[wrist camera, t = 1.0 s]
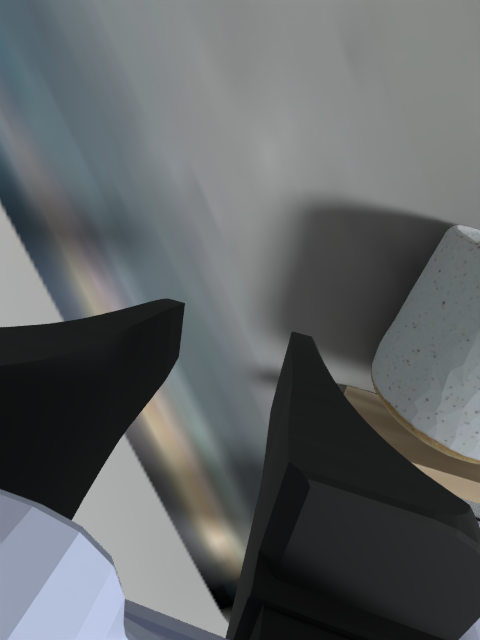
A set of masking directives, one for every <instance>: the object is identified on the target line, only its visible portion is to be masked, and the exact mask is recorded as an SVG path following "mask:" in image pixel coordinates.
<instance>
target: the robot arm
mask: <svg viewBox="0 0 480 640" xmlns="http://www.w3.org/2000/svg"><path fill="white" fill-rule="evenodd" d="M184 306H185V303H182V302H179V301H175V300H171V299H160V300H155V301H151V302H148V303H144V304H140V305H136V306H133V307H129V308H125V309H122V310H118V311H114V312H110V313H105V314H101V315H97V316H92V317H88V318H83V319H78V320H72V321H65V322H58V323H51V324H42V325H29V326H16V327H0V640H480V521H477V519H476V517H475V515H474V513H473V511H472V509H471V507H470V505H469V504H467V503H466V502H465V501H463V500H462V499H460V498H459V497H457V496H456V495H455V494H453V493H452V492H450V491H449V490H448V489H446V488H445V487H443V486H442V485H441V484H439V483H438V482H436V481H435V480H433V479H432V478H431V477H429V476H428V475H426V474H425V473H424V472H422V471H421V470H420V469H419V468H417V467H416V466H415V465H414V464H412V463H411V462H410V461H409V460H408V459H406V458H405V457H404V456H403V455H401V454H400V453H399V452H398V451H397V450H396V449H395V448H393V447H392V446H391V445H390V444H389V443H388V442H387V441H386V440H384V439H383V438H382V437H381V436H380V435H379V434H378V433H377V432H376V431H375V430H374V429H373V428H372V427H371V426H370V425H369V424H368V423H367V422H366V421H365V419H364V418H363V417H362V416H361V415H360V414H359V413H358V412H357V410H356V409H355V408H354V407H353V406H352V404H351V403H350V402H349V401H348V400H347V398H346V397H345V396H344V394H343V393H342V392H341V390H340V389H339V387H338V386H337V384H336V383H335V381H334V380H333V378H332V376H331V374H330V373H329V371H328V369H327V367H326V366H325V364H324V362H323V360H322V358H321V356H320V354H319V351H318V349H317V347H316V345H315V342H314V340H313V338H312V337H311V336H307V335H303V334H299V333H296V332H292V333H291V337H290V340H289V344H288V348H287V351H286V355H285V358H284V362H283V366H282V369H281V373H280V377H279V380H278V384H277V388H276V392H275V396H274V400H273V404H272V408H271V413H270V421H269V428H268V436H267V444H266V453H265V461H264V469H263V476H262V482H261V487H260V492H259V496H258V501H257V505H256V510H255V514H254V518H253V523H252V527H251V532H250V536H249V540H248V545H247V549H246V553H245V558H244V562H243V566H242V571H241V575H240V579H239V583H238V588H237V592H236V596H235V601H234V605H233V609H232V613H231V618H230V622H229V626H228V630H227V635H226V638H223V637H221V636H218V635H216V634H213V633H210V632H208V631H205V630H202V629H200V628H198V627H195V626H193V625H190V624H188V623H185V622H182V621H180V620H177V619H175V618H172V617H170V616H167V615H165V614H162V613H160V612H157V611H154V610H152V609H149V608H147V607H144V606H142V605H139V604H136V603H134V602H131V601H129V600H126V599H125V597H124V593H123V590H122V586H121V582H120V580H119V577H118V574H117V571H116V568H115V565H114V562H113V560H112V557H111V556H110V555H109V554H108V553H107V552H106V550H104V549H103V547H102V546H101V545H100V544H99V543H98V542H97V541H95V539H94V538H93V537H92V536H91V535H90V534H89V533H88V532H87V531H86V530H85V529H84V528H83V527H82V526H80V525H78V524H77V523H75V522H73V521H71V520H72V519H73V517H74V515H75V513H76V511H77V510H78V508H79V506H80V504H81V502H82V501H83V499H84V497H85V496H86V494H87V492H88V491H89V489H90V487H91V485H92V484H93V482H94V480H95V479H96V477H97V475H98V474H99V472H100V470H101V468H102V467H103V465H104V464H105V462H106V460H107V459H108V457H109V456H110V454H111V452H112V451H113V449H114V448H115V446H116V444H117V443H118V441H119V440H120V438H121V437H122V436H123V434H124V433H125V431H126V430H127V429H128V427H129V426H130V425H131V424H132V422H133V421H134V420H135V419H136V417H137V416H138V415H139V413H140V412H141V411H142V410H143V408H144V407H145V406H146V405H147V403H148V402H149V401H150V399H151V398H152V397H153V396H154V394H155V393H156V392H157V390H158V389H159V388H160V387H161V385H162V384H163V383H164V381H165V380H166V378H167V377H168V375H169V373H170V372H171V370H172V368H173V366H174V364H175V363H176V361H177V359H178V357H179V350H180V341H181V333H182V324H183V315H184Z"/></svg>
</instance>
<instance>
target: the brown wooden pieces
mask: <svg viewBox="0 0 480 640" xmlns="http://www.w3.org/2000/svg"><path fill="white" fill-rule="evenodd" d="M344 396H345V397H346V398H347V400H348V401H349V402H350V403H351V404H352V406H353V407H354V408H355V409H356V410H357V412H358V413H359V414H360V415H361V416H362V417H363V418H364V419H365V421H366V422H367V423H368V424H369V425H370V426H371V427H372V428H373V429H374V430H375V431H376V432H377V433H378V434H379V435H380V436H381V437H382V438H383V439H384V440H386V441H387V442H388V443H389V444H390V445H391V446H392V447H393V448H395V449H396V450H397V451H398V452H399V453H400V454H401V455H403V456H404V457H405V458H406V459H408V460H409V461H410V462H411V463H412V464H414V465H415V466H416V467H417V468H419V469H420V470H421V471H422V472H424V473H425V474H426V475H428V476H429V477H431V478H432V479H433V480H435V481H436V482H438V483H439V484H441V485H442V486H443V487H445V488H446V489H448V490H449V491H450V492H452V493H453V494H455V495H456V496H457V497H460V498H463V499H467V500H470V501H473V502H476V503H480V464H475V463H470V462H466V461H463V460H460V459H457V458H454V457H451V456H448V455H446V454H444V453H442V452H440V451H438V450H436V449H434V448H433V447H431V446H429V445H427V444H425V443H424V442H422V441H421V440H420V439H418V438H417V437H416V436H414V435H413V434H412V433H411V432H409V431H408V430H407V429H406V428H405V427H403V426H402V425H401V424H400V423H399V422H398V421H397V420H396V419H395V418H394V417H393V416H392V415H391V414H390V412H389V411H388V410H387V409H386V407H385V406H384V405H383V403H382V402H381V400H380V398H379V396H378V395H377V394H375V393H372V392H368V391H364V390H361V389H357V388H354V387H350V386H347V387H346V389H345V392H344Z"/></svg>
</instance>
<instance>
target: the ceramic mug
mask: <svg viewBox="0 0 480 640" xmlns="http://www.w3.org/2000/svg"><path fill="white" fill-rule="evenodd" d="M371 378H372V382H373V385H374V389H375V391H376V393H377V395H378V396H379V398H380V400H381V402H382V403H383V405H384V406H385V407H386V409H387V410H388V411H389V412H390V414H391V415H392V416H393V417H394V418H395V419H396V420H397V421H398V422H399V423H400V424H401V425H402V426H403V427H405V428H406V429H407V430H408V431H409V432H411V433H412V434H413V435H414V436H416V437H417V438H418V439H420V440H421V441H422V442H424V443H425V444H427V445H429V446H431V447H433V448H434V449H436V450H438V451H440V452H442V453H444V454H446V455H448V456H451V457H454V458H457V459H460V460H463V461H466V462H470V463H475V464H480V230H477V229H474V228H471V227H467V226H463V225H456V226H452V227H451V228H449V229H448V230H447V231H446V233H445V235H444V236H443V238H442V240H441V241H440V243H439V245H438V246H437V248H436V250H435V251H434V253H433V255H432V257H431V258H430V260H429V262H428V263H427V265H426V267H425V268H424V270H423V272H422V273H421V275H420V277H419V278H418V280H417V282H416V283H415V285H414V287H413V288H412V290H411V292H410V294H409V295H408V297H407V299H406V301H405V303H404V304H403V306H402V308H401V310H400V311H399V313H398V315H397V317H396V318H395V320H394V321H393V323H392V324H391V326H390V328H389V329H388V331H387V332H386V334H385V335H384V337H383V339H382V341H381V342H380V344H379V346H378V349H377V352H376V355H375V357H374V360H373V363H372V369H371Z"/></svg>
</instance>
